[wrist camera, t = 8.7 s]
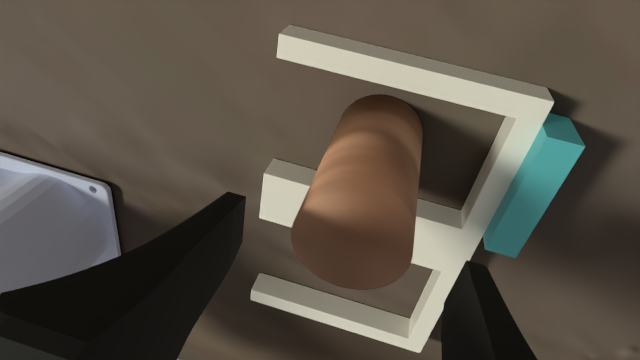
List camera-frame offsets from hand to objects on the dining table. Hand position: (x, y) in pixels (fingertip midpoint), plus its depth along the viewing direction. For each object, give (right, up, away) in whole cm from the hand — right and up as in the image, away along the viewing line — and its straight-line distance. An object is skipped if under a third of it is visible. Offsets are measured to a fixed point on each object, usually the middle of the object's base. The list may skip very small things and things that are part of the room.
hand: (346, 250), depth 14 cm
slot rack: (+2, +1, +9) cm, 9 cm away
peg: (+2, +4, +7) cm, 8 cm away
